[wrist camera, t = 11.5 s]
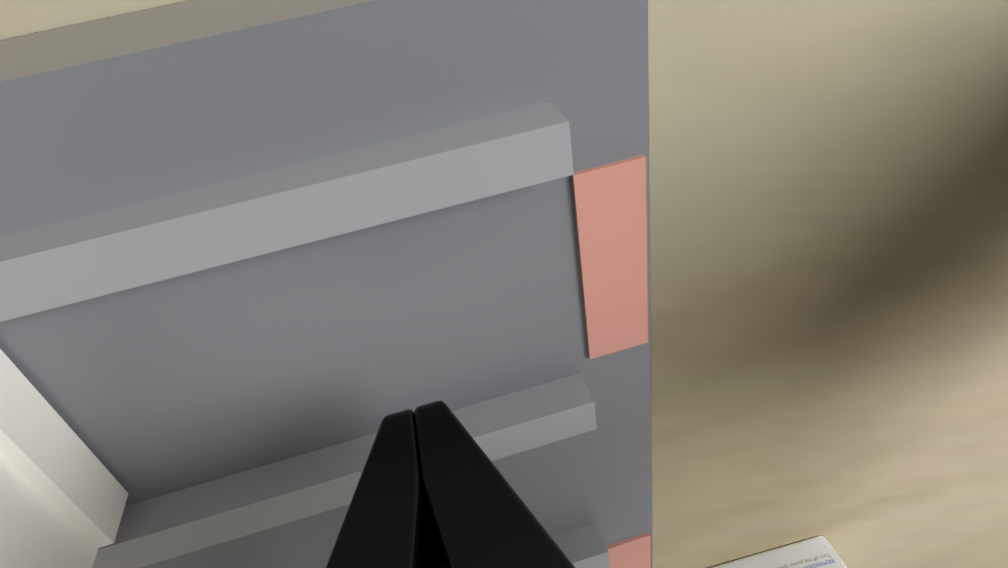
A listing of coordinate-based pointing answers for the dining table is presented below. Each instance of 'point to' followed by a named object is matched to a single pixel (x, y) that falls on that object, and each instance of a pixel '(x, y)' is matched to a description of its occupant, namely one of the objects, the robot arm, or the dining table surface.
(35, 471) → the white block
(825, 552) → the light bulb box
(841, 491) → the dining table surface
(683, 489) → the dining table surface
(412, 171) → the breaker panel
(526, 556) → the robot arm
